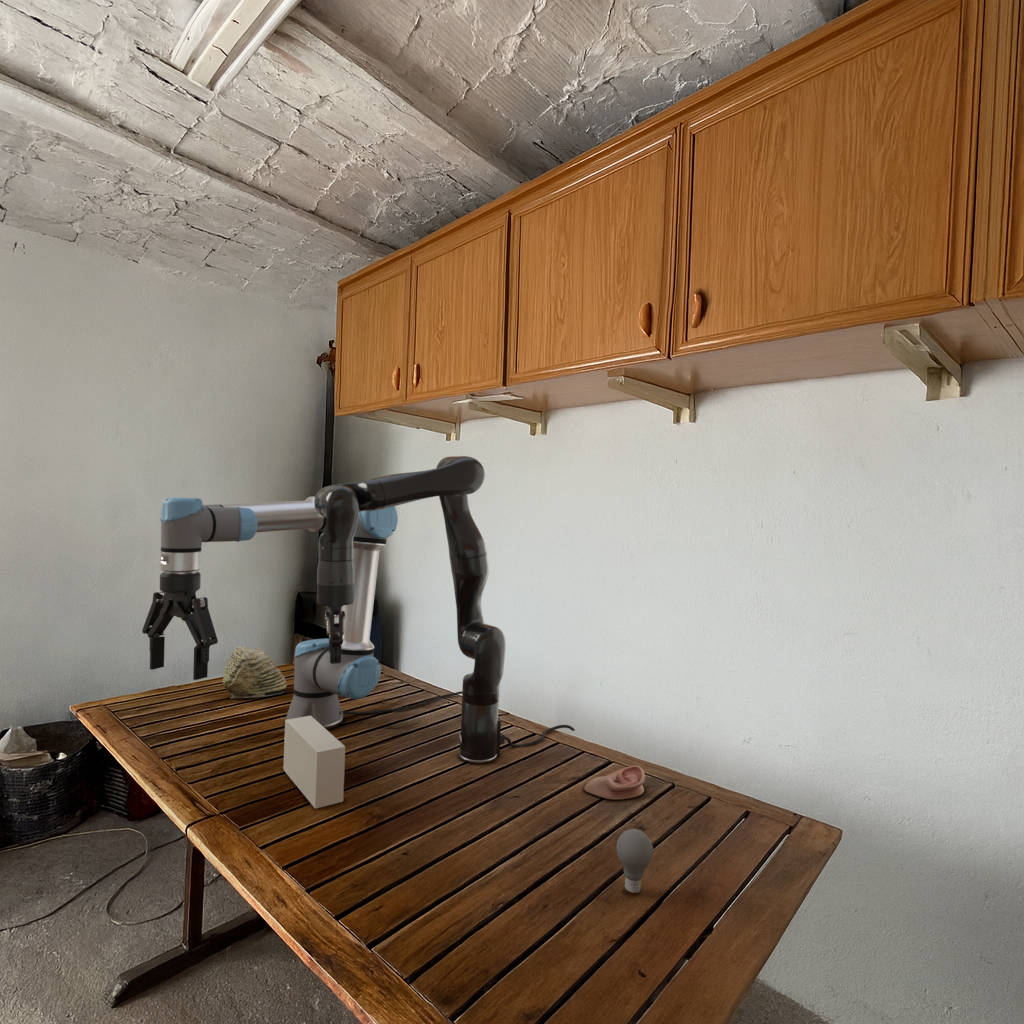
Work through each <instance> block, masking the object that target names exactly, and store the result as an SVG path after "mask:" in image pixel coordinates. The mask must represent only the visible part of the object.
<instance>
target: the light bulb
mask: <svg viewBox="0 0 1024 1024" xmlns="http://www.w3.org/2000/svg"><path fill="white" fill-rule="evenodd" d="M615 849H616V854H617V857H618V859H619V861H620V863H621V865H622V867H623V873H624V874H623V875H624V876H625V878H624V888H625V890H627V891H628V892H630V893H634V894H635V893H639V892H640V891H641V889H642V887H641V886H642V879H643V877H644V875H645V871H646V868H647V867H648V866H649V864H650V863H651V861H652V859H653V855H654V847H653V843H652V841H651V838H649V836H648V835H647V834H646V833H645V832H643V831H642V830H641V829H636V828H629V829H627V830H625V831H623V832H622V833H621V834H620V835H619V837H618V839H617V841H616V847H615Z"/></svg>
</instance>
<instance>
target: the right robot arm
mask: <svg viewBox="0 0 1024 1024" xmlns="http://www.w3.org/2000/svg"><path fill="white" fill-rule="evenodd" d="M485 478H486V472H485V469H484V466H483V465H482V463H481V462H480V461H479V460H478V459H477V458H474V457H472V456H466V455H460V456H459V455H458V456H455V455H453V456H446V457H444V458H442V459H441V460H440V461H439V462H438V463H437V464H436V467H435V468H433V469H427V470H420V471H411V472H400V473H392V474H387V475H381V476H377V477H372V478H368V479H365V480H361V481H354V482H345V483H338V484H332V485H327V486H324V487H322V488H321V489H320V490H319V491H317V493H316V494H315V500H314V506H315V509H316V510H317V512H318V513H319V514H320V515H321V516H323V517H325V518H326V526H325V531H322V532H321V533H320V535H319V538H318V559H317V569H316V603H317V604H318V605H319V606H323V607H327V608H328V611H325V617H324V618H325V624H326V625H325V626H326V635H327V636H328V639H329V653H330V663H331V664H337V663H341V645H342V644H343V635H344V622H345V611H342V609H341V608H342V606H343V605H349V604H352V603H353V602H354V564H353V538H354V534H355V530H356V526H357V521H358V516H359V512H360V511H375V510H380V509H385V508H389V507H393V506H395V507H397V506H400V505H405V504H408V503H413V502H416V501H420V500H425V499H430V498H434V497H438V498H439V501H440V506H441V510H442V514H443V519H444V527H445V534H446V540H447V547H448V555H449V561H450V562H449V563H450V571H451V575H452V582H453V583H452V584H453V590H454V598H455V599H454V600H455V606H456V630H457V631H456V633H457V643H458V648H459V650H460V652H461V653H462V655H463V656H464V657H467V658H469V659H472V660H474V663H473V664H474V666H473V671H472V672H469V673H467V674H465V675H464V676H463V678H462V694H461V696H462V697H461V712H460V714H461V716H460V718H461V719H460V732H459V733H458V738H459V751H458V752H459V753H458V756H459V758H460V759H461V761H463V762H466V763H469V764H476V765H477V764H479V765H481V764H487V763H488V764H489V763H492V762H494V761H496V759H497V758H498V757H500V755H501V745H504V744H505V741H507V744H508V746H509V747H511V748H523V747H525V748H526V747H531V746H534V745H536V744H538V743H541V742H542V741H543V740H544V739H545V737H546V734H547V733H550V732H552V731H555V730H556V731H557V730H559V729H569V730H571V731H572V732H575V731H576V729H575V728H574V727H573V726H571V725H569V724H560V725H556V726H552V727H550V728H547V729H545V730H543V732H542V734H541V736H540V737H539V738H537V739H535V740H533V741H530V742H527V743H521V744H515V743H513V742H512V740H511V738H510V737H508V736H506V735H505V734H503V733H502V732H501V731H502V719H501V717H499V709H500V706H499V705H500V686H501V682H502V679H503V676H504V669H505V661H506V660H505V659H506V650H507V649H506V648H507V645H506V636H505V634H504V632H503V630H502V629H501V628H499V627H498V626H495V625H492V624H488V623H486V622H485V620H484V616H483V610H482V609H483V608H482V597H483V593H484V590H485V588H486V585H487V582H488V578H489V574H490V573H489V572H490V567H489V559H488V549H487V545H486V542H485V540H484V538H483V536H482V534H481V531H480V529H479V528H478V525H477V524H476V522H475V520H474V518H473V516H472V513H471V510H470V504H469V499H468V495H472V494H475V493H476V492H477V491H479V490H480V489H481V488H482V486H483V485H484V482H485Z"/></svg>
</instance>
